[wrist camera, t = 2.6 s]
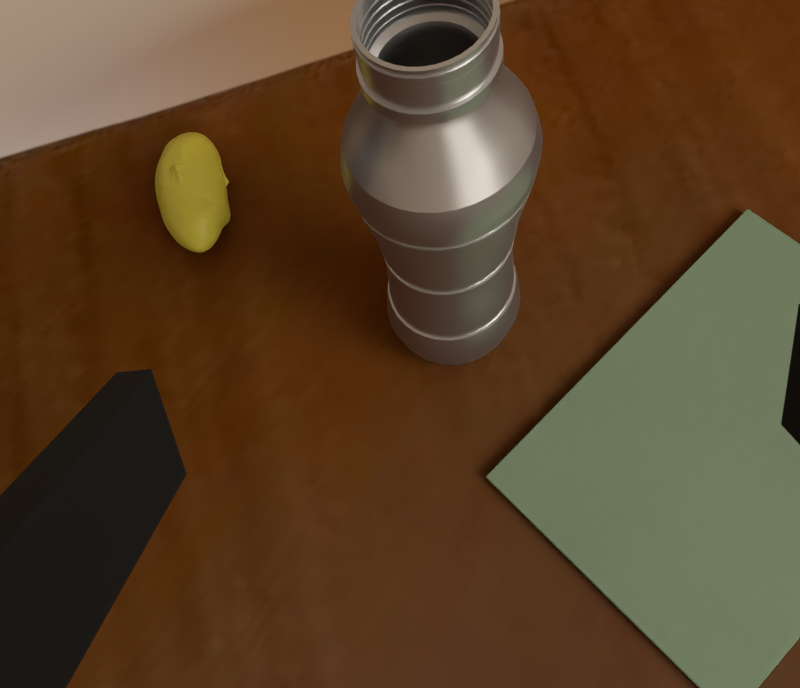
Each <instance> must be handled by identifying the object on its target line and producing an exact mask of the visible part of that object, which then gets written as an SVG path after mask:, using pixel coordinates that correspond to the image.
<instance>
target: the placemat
mask: <svg viewBox="0 0 800 688" xmlns="http://www.w3.org/2000/svg"><path fill="white" fill-rule="evenodd" d="M799 304H800V244H799V243H797V242H796V241H794V240H793V239H791V238H790V237H788V236H787V235H786V234H784V233H783V232H781V231H780V230H778V229H777V228H775V227H774V226H772V225H771V224H769V223H768V222H766V221H765V220H763V219H762V218H760V217H759V216H758V215H756V214H755V213H753V212H752V211H750V210H749V209H747V210H746V211H745V212H744V213H743V214H742V215H741V216H740V217H739V218H738V219H737V220H736V221H735V222H734V223H733V224H732V225H731V226H730V227H729V228H728V229H727V230H726V231H725V232H724V233H723V234H722V235H721V236H720V237H719V238H718V239H717V240H716V241H715V242H714V243H713V244H712V245H711V246H710V248H709V249H708V250H707V251H706V252H705V253H704V254H703V255H702V256H701V257H700V258H699V259H698V260H697V261H696V262H695V263H694V264H693V265H692V266H691V267H690V268H689V269H688V270H687V271H686V272H685V273H684V274H683V275H682V276H681V277H680V278H679V279H678V280H677V281H676V282H675V283H674V284H673V285H672V286H671V287H670V288H669V289H668V290H667V292H666V293H665V294H664V295H663V296H662V297H661V298H660V299H659V300H658V301H657V302H656V303H655V304H654V305H653V306H652V307H651V308H650V309H649V310H648V311H647V312H646V313H645V314H644V315H643V316H642V317H641V318H640V319H639V320H638V321H637V322H636V323H635V324H634V325H633V326H632V327H631V328H630V329H629V330H628V331H627V332H626V333H625V335H624V336H623V337H622V338H621V339H620V340H619V341H618V342H617V343H616V344H615V345H614V346H613V347H612V348H611V349H610V350H609V351H608V352H607V353H606V354H605V355H604V356H603V357H602V358H601V359H600V360H599V361H598V362H597V363H596V364H595V365H594V366H593V367H592V368H591V369H590V370H589V371H588V372H587V373H586V374H585V375H584V376H583V378H582V379H581V380H580V381H579V382H578V383H577V384H576V385H575V386H574V387H573V388H572V389H571V390H570V391H569V392H568V393H567V394H566V395H565V396H564V397H563V398H562V399H561V400H560V401H559V402H558V403H557V404H556V405H555V406H554V407H553V408H552V409H551V410H550V411H549V412H548V413H547V414H546V415H545V416H544V417H543V418H542V419H541V420H540V422H539V423H538V424H537V425H536V426H535V427H534V428H533V429H532V430H531V431H530V432H529V433H528V434H527V435H526V436H525V437H524V438H523V439H522V440H521V441H520V442H519V443H518V444H517V445H516V446H515V447H514V448H513V449H512V450H511V451H510V452H509V453H508V454H507V455H506V456H505V457H504V458H503V459H502V460H501V461H500V462H499V463H498V465H497V466H496V467H495V468H494V469H493V470H492V471H491V472H490V473H489V474H488V475H487V476H486V479H487V480H488V481H489V482H491V483H492V484H493V485H494V486H495V487H496V488H497V489H498V490H499V491H500V492H501V493H502V494H503V495H504V496H505V497H506V498H507V499H508V500H509V501H510V502H511V503H512V504H513V505H514V506H515V507H516V508H517V509H518V510H519V511H520V512H521V513H522V514H523V515H524V516H525V517H526V518H527V519H528V520H529V521H530V522H531V523H532V524H533V525H534V526H535V527H536V528H537V529H538V530H539V531H540V532H541V533H542V534H543V535H544V536H545V537H546V538H547V539H548V540H549V541H550V542H551V543H552V544H553V545H554V546H555V547H556V548H557V549H558V550H559V551H560V552H561V553H562V554H563V555H564V556H566V557H567V558H568V559H569V560H570V561H571V562H572V563H573V564H574V565H575V566H576V567H577V568H578V569H579V570H580V571H581V572H582V573H583V574H584V575H585V576H586V577H587V578H588V579H589V580H590V581H591V582H592V583H593V584H594V585H595V586H596V587H597V588H598V589H599V590H600V591H601V592H602V593H603V594H604V595H605V596H606V597H607V598H608V599H609V600H610V601H611V602H612V603H613V604H614V605H615V606H616V607H617V608H618V609H619V610H620V611H621V612H622V613H623V614H624V615H625V616H626V617H627V618H628V619H629V620H630V621H631V622H632V623H633V624H634V625H635V626H636V627H637V628H638V629H640V630H641V631H642V632H643V633H644V634H645V635H646V636H647V637H648V638H649V639H650V640H651V641H652V642H653V643H654V644H655V645H656V646H657V647H658V648H659V649H660V650H661V651H662V652H663V653H664V654H665V655H666V656H667V657H668V658H669V659H670V660H671V661H672V662H673V663H674V664H675V665H676V666H677V667H678V668H679V669H680V670H681V671H682V672H683V673H684V674H685V675H686V676H687V677H688V678H689V679H690V680H691V681H692V682H693V683H694V684H695V685H696V686H697V687H698V688H758V687H759V686H760V684H761V683H762V682H763V681H764V680H765V678H766V677H767V676H768V675H769V674H770V672H771V671H772V670H773V669H774V668H775V666H776V665H777V664H778V663H779V662H780V660H781V659H782V658H783V657H784V656H785V654H786V653H787V652H788V651H789V650H790V648H791V647H792V646H793V645H794V644H795V642H796V641H797V640H798V639H799V638H800V445H799V444H798V442H797V441H796V440H795V439H794V438H793V437H792V436H791V435H790V434H789V433H788V432H787V430H786V429H785V428H784V427H783V426H782V425H781V421H782V414H783V408H784V401H785V394H786V387H787V380H788V374H789V367H790V360H791V353H792V346H793V340H794V333H795V326H796V319H797V312H798V306H799Z"/></svg>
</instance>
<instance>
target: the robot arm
mask: <svg viewBox="0 0 800 688" xmlns="http://www.w3.org/2000/svg"><path fill="white" fill-rule="evenodd" d="M781 425H782V426H783V427H784V428H785V429H786V430H787V432H788V433H789V434H790V435H791V436H792V437H793V438H794V439H795V440H796V441H797V442H798V444H799V445H800V304H799V306H798V312H797V319H796V326H795V333H794V340H793V346H792V353H791V360H790V367H789V374H788V380H787V387H786V394H785V401H784V408H783V414H782V421H781ZM185 476H186V471H185V469H184V466H183V463H182V460H181V457H180V454H179V451H178V448H177V445H176V442H175V439H174V436H173V433H172V430H171V427H170V424H169V421H168V418H167V415H166V412H165V409H164V406H163V403H162V400H161V397H160V394H159V392H158V389H157V386H156V383H155V380H154V377H153V374H152V371H151V369H148V370H138V371H128V372H118V373H116V374H115V375H114V376H113V377H112V378H111V379H110V380H109V381H108V382H107V384H106V385H105V386H104V387H103V388H102V389H101V390H100V391H99V392H98V393H97V394H96V395H95V396H94V397H93V398H92V399H91V400H90V401H89V403H88V404H87V405H86V406H85V407H84V408H83V409H82V410H81V411H80V412H79V413H78V414H77V415H76V416H75V417H74V418H73V419H72V421H71V422H70V423H69V424H68V425H67V426H66V427H65V428H64V429H63V430H62V431H61V432H60V433H59V434H58V435H57V436H56V437H55V439H54V440H53V441H52V442H51V443H50V444H49V445H48V446H47V447H46V448H45V449H44V450H43V451H42V452H41V453H40V454H39V455H38V456H37V458H36V459H35V460H34V461H33V462H32V463H31V464H30V465H29V466H28V467H27V468H26V469H25V470H24V471H23V472H22V473H21V474H20V476H19V477H18V478H17V479H16V480H15V481H14V482H13V483H12V484H11V485H10V486H9V487H8V488H7V489H6V490H5V491H4V492H3V493H2V495H1V496H0V688H66V687H67V685H68V683H69V682H70V680H71V678H72V676H73V674H74V673H75V671H76V669H77V667H78V666H79V664H80V662H81V660H82V658H83V657H84V655H85V653H86V651H87V650H88V648H89V646H90V644H91V642H92V641H93V639H94V637H95V635H96V634H97V632H98V630H99V628H100V626H101V625H102V623H103V621H104V619H105V618H106V616H107V614H108V612H109V611H110V609H111V607H112V605H113V603H114V602H115V600H116V598H117V596H118V595H119V593H120V591H121V589H122V587H123V586H124V584H125V582H126V580H127V579H128V577H129V575H130V573H131V571H132V570H133V568H134V566H135V564H136V563H137V561H138V559H139V557H140V555H141V554H142V552H143V550H144V548H145V547H146V545H147V543H148V541H149V540H150V538H151V536H152V534H153V532H154V531H155V529H156V527H157V525H158V524H159V522H160V520H161V518H162V516H163V515H164V513H165V511H166V509H167V508H168V506H169V504H170V502H171V500H172V499H173V497H174V495H175V493H176V492H177V490H178V488H179V486H180V484H181V483H182V481H183V479H184V477H185Z"/></svg>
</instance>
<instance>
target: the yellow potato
mask: <svg viewBox="0 0 800 688" xmlns="http://www.w3.org/2000/svg"><path fill="white" fill-rule="evenodd" d="M228 183H229V181H228V179H227V178H226V176H225V174H224V171H223V168H222V164H221V159H220V156H219V153H218V151H217V149H216V148H215V146H214V145H213V143H212V142H211V141H210V140H209V139H208V138H207V137H206V136H204V135H202V134H200V133H195V132H188V133H184V134H181V135H179V136H177V137H175V138H173V139H172V140H171V141H170V142H169V143H168V144H167V145H166V147H165V148H164V150H163V152H162V155H161V157H160V160H159V162H158V165H157V169H156V174H155V190H156V197H157V201H158V205H159V208H160V212H161V216H162V219H163V222H164V224H165V226H166V228H167V229H168V231H169V232H170V234H171V235H172V237H173V238H174V239H175V240H176V241H177V242H178V243H179V244H180V245H181V246H183V247H184V248H186V249H188V250H190V251H193V252H197V253H201V252H205V251H207V250H209V249H210V248H211V247H212V246H213V245H214V244H215V242H216V241H217V239H218V237H219V235H220V233H221V231H222V229H223V227H224V226H225V225H226V224H227V223H228V222H229V220H230V208H229V203H228V196H227V188H226V186H227V185H228Z"/></svg>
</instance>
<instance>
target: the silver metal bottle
mask: <svg viewBox="0 0 800 688" xmlns="http://www.w3.org/2000/svg"><path fill="white" fill-rule="evenodd" d="M350 27H351V39H352V43H353V46H354V50H355V54H356V73H357V76H358V80H359V84H360V87H361V91H360V93H359V94H358V96H357V98H356V99H355V101H354V103H353V104H352V106H351V108H350V111H349V113H348V115H347V118H346V120H345V124H344V129H343V134H342V141H341V150H340V170H341V174H342V178H343V181H344V185H345V187H346V189H347V191H348V193H349V196H350V198H351V200H352V202H353V204H354V205H355V207H356V209H357V211H358V213H359V214H360V215H361V217H362V219H363V220H364V222H365V223H366V225H367V226H368V228H369V229H370V231H371V233H372V234H373V236H374V237H375V239H376V240H377V242H378V245H379V247H380V250H381V252H382V255H383V256H384V259H385V262H386V264H387V272H388V286H387V311H388V317H389V320H390V324H391V326H392V328H393V330H394V331H395V333H396V335H397V336H398V337H399V339H400V340H401V341H402V342H403V343H404V344H405V345H406V346H407V347H408V348H409V349H410V350H411V351H412V352H414V353H415V354H416V355H418V356H419V357H421V358H423V359H425V360H427V361H429V362H433V363H437V364H442V365H458V364H465V363H468V362H472V361H475V360H477V359H479V358H481V357H483V356H485V355H487V354H488V353H490V352H491V351H492V350H493V349H494V348H496V347H497V346H498V345H499V344H500V342H501V341H502V340H503V339H504V338H505V336H506V335H507V333H508V332H509V330H510V328H511V327H512V325H513V323H514V321H515V319H516V316H517V313H518V310H519V304H520V290H519V283H518V277H517V272H516V269H515V266H514V261H513V244H514V238H515V234H516V230H517V225H518V221H519V219H520V216H521V214H522V211H523V209H524V206H525V204H526V201H527V199H528V196H529V194H530V191H531V189H532V187H533V184H534V180H535V177H536V174H537V171H538V167H539V163H540V159H541V156H542V143H543V137H542V131H541V125H540V121H539V118H538V114H537V111H536V108H535V105H534V103H533V100H532V98H531V96H530V93H529V91H528V90H527V88H526V87H525V86H524V84H523V83H522V82H521V81H520V79H519V78H518V77H517V76H516V75H515V74H513V73H512V72H511V71H510V70H509V69H508V68H507V67H506V66H505V65H503V41H502V36H501V33H500V7H499V0H356V2H355V4H354V7H353V9H352V14H351V18H350Z"/></svg>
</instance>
